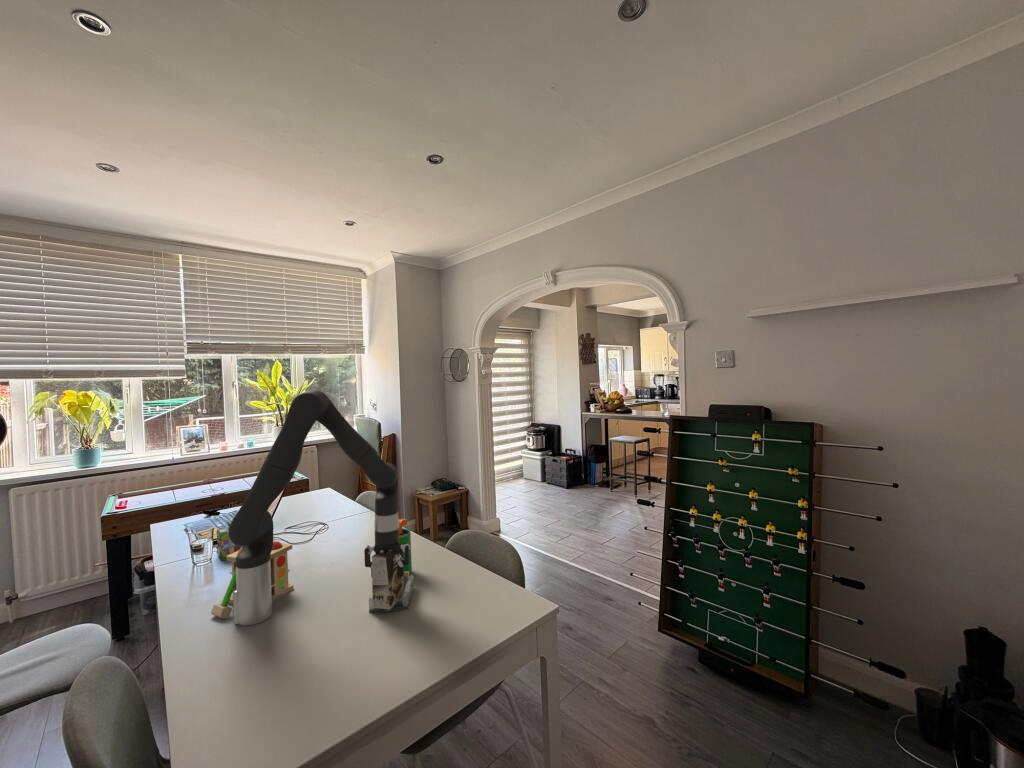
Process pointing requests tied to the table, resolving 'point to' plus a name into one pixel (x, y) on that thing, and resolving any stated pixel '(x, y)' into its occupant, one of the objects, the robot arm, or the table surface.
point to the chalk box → (225, 543)
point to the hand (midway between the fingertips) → (388, 578)
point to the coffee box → (386, 580)
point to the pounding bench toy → (277, 578)
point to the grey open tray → (404, 600)
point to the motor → (405, 542)
